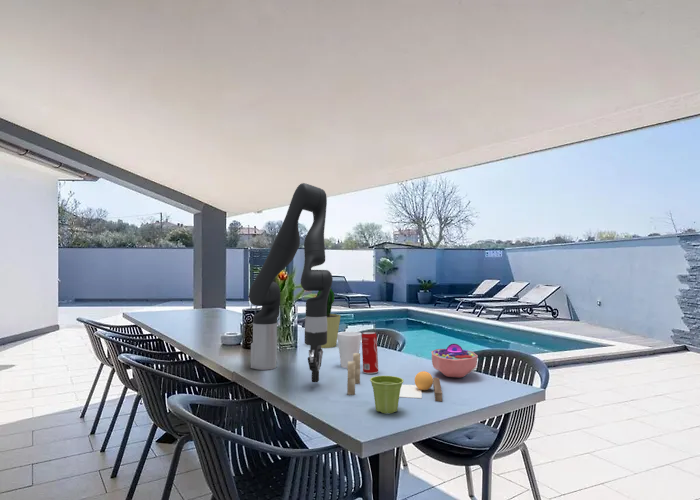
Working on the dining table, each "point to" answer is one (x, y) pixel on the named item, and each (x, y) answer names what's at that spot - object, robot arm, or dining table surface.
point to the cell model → (454, 361)
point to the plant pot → (386, 393)
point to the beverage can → (369, 352)
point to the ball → (423, 380)
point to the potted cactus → (331, 322)
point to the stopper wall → (437, 389)
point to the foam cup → (348, 346)
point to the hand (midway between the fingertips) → (315, 381)
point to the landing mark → (410, 391)
